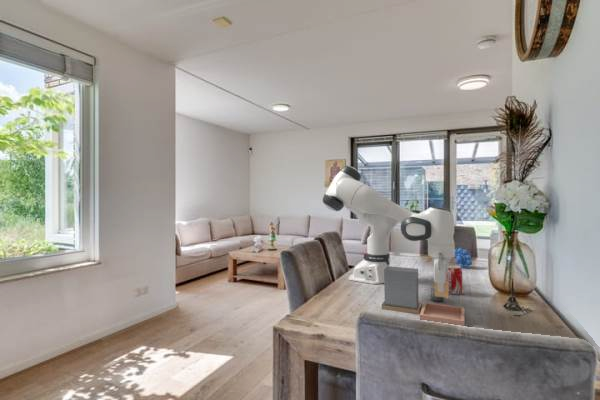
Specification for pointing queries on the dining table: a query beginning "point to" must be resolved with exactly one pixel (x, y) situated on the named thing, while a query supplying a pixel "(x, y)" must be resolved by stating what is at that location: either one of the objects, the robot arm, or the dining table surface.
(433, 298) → the steel cylinder
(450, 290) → the soda can
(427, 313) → the tray
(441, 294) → the oak wood brick
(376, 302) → the dining table surface
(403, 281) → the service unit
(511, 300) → the eiffel tower figurine
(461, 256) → the grapes
